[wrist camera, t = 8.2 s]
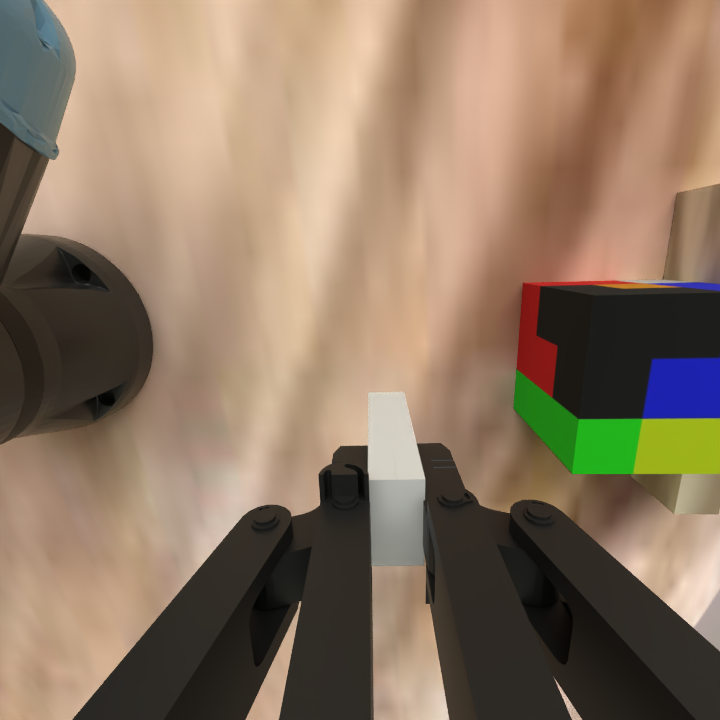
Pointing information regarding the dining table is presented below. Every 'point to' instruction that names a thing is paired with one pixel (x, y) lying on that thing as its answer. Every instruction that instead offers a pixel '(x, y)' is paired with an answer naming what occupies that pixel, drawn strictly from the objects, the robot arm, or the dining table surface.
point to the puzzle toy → (622, 374)
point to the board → (693, 264)
